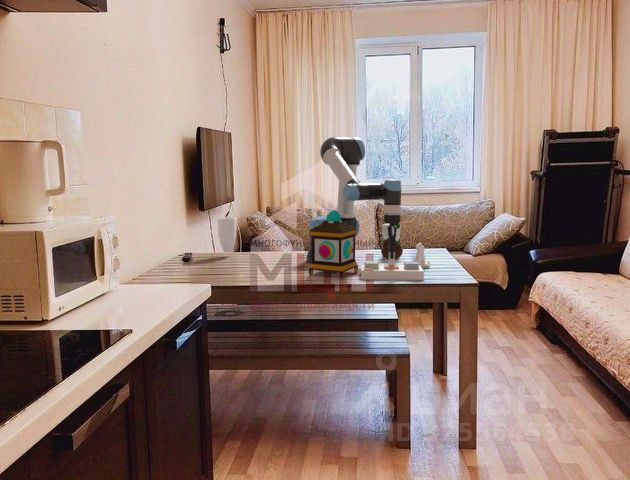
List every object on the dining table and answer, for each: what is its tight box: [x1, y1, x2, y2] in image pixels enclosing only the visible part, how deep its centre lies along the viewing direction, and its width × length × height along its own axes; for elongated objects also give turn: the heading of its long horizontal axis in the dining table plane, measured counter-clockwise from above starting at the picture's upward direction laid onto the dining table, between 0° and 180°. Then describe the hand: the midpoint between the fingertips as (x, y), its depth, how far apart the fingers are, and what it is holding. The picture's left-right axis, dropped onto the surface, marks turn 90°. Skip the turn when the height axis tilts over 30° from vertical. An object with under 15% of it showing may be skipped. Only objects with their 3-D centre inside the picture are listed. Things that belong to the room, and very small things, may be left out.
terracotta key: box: [383, 264, 399, 269], centre depth 259 cm, size 6×6×4 cm
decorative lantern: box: [308, 209, 359, 279], centre depth 264 cm, size 20×20×30 cm
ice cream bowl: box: [380, 238, 404, 261], centre depth 277 cm, size 11×11×15 cm
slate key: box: [403, 260, 419, 269], centre depth 259 cm, size 6×6×4 cm
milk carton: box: [381, 223, 402, 258], centre depth 310 cm, size 9×9×20 cm
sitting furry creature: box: [412, 242, 431, 269], centre depth 283 cm, size 10×9×12 cm
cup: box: [217, 216, 237, 253], centre depth 313 cm, size 10×10×22 cm
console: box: [360, 264, 425, 281], centre depth 259 cm, size 28×14×5 cm, turn 86°
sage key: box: [364, 260, 380, 269], centre depth 260 cm, size 6×6×4 cm
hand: (391, 265), depth 259 cm, fingers closed
